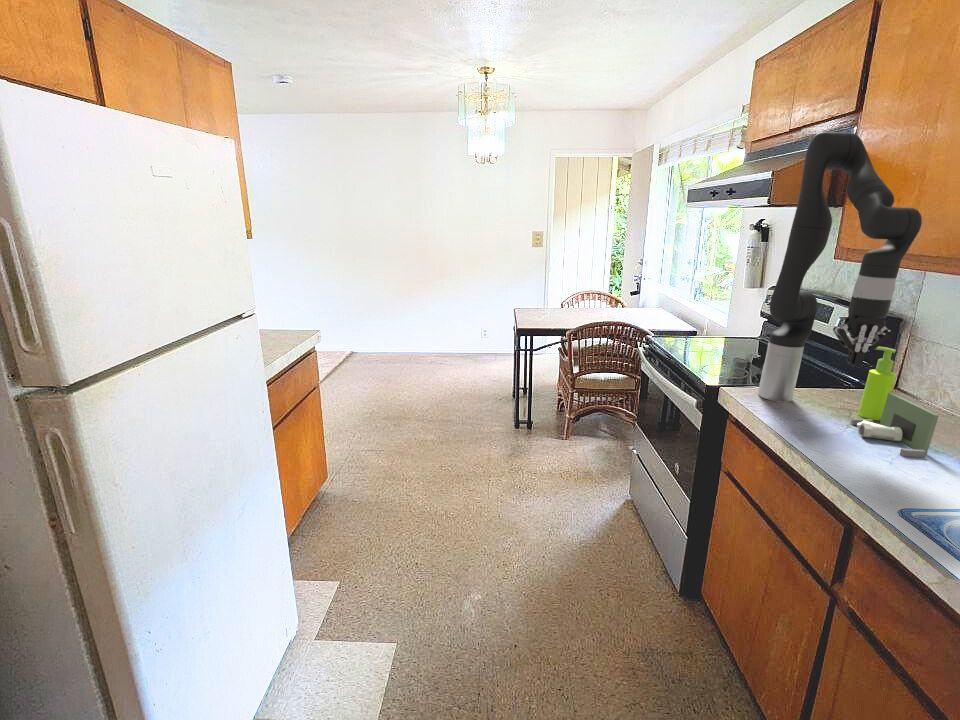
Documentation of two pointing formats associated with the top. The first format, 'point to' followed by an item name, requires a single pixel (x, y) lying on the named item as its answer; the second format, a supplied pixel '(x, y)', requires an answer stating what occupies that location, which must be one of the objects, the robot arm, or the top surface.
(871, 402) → the soap dispenser
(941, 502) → the top surface
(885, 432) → the pipe fitting
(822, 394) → the top surface
